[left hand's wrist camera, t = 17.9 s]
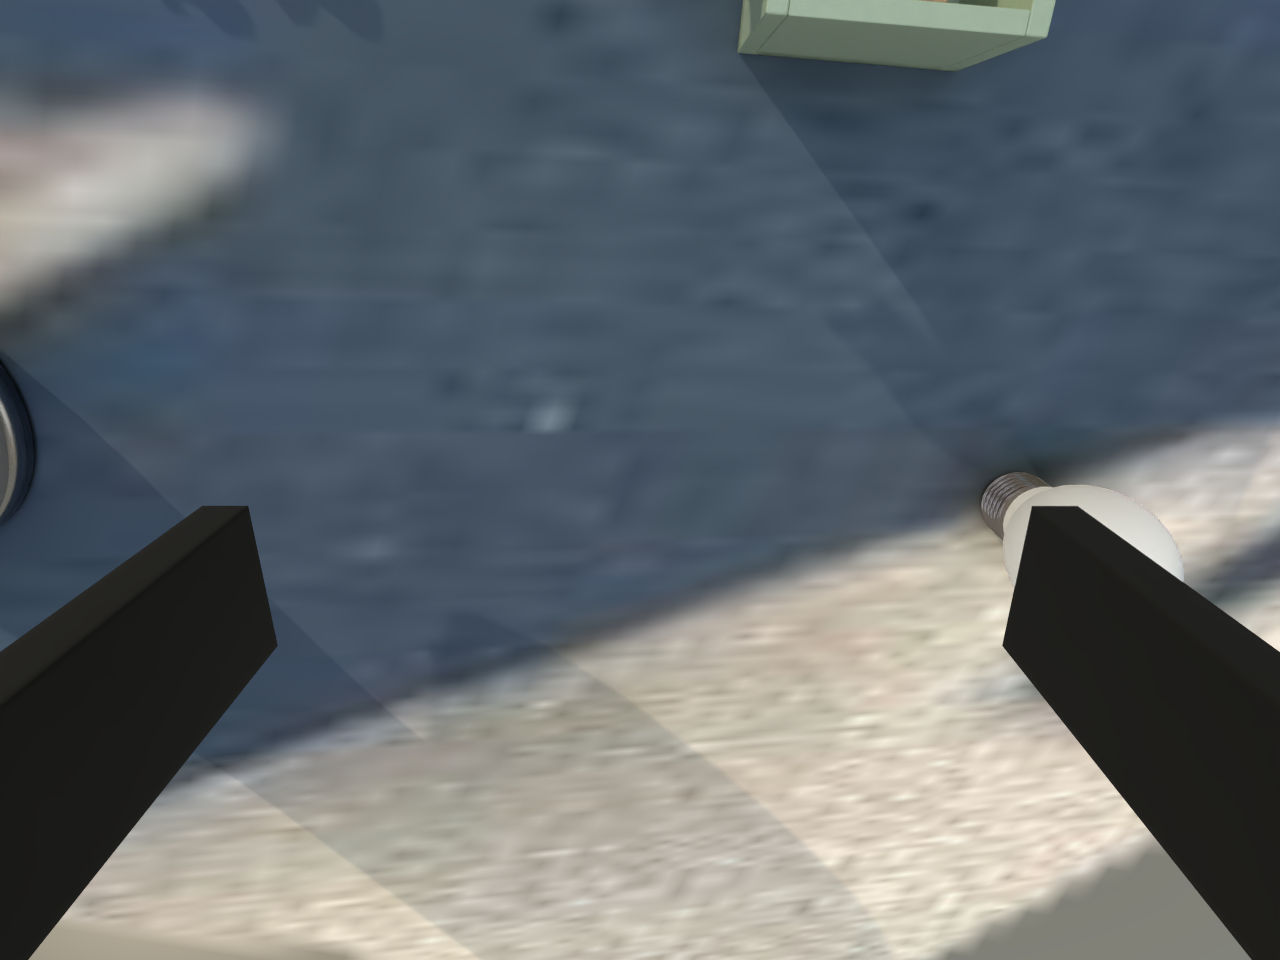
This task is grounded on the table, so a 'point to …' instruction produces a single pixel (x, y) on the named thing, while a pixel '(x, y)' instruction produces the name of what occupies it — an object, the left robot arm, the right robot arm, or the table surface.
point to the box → (893, 30)
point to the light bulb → (1124, 516)
